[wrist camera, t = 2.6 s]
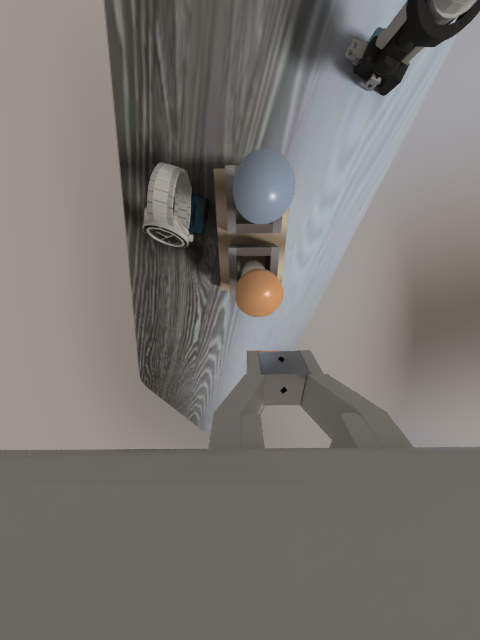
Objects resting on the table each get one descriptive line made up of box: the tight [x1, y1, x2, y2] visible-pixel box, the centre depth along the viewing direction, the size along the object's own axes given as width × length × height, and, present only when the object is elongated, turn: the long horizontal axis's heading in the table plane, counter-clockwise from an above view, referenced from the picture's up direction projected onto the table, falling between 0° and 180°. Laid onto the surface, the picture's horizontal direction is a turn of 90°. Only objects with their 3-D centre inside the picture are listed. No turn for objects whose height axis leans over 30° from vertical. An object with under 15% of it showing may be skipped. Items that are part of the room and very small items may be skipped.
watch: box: [142, 162, 209, 248], centre depth 22 cm, size 6×8×11 cm
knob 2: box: [235, 260, 283, 317], centre depth 21 cm, size 4×4×9 cm
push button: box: [345, 0, 480, 95], centre depth 16 cm, size 7×5×10 cm
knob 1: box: [233, 148, 295, 224], centre depth 17 cm, size 4×4×9 cm
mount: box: [213, 165, 293, 296], centre depth 25 cm, size 16×10×7 cm, turn 1°
